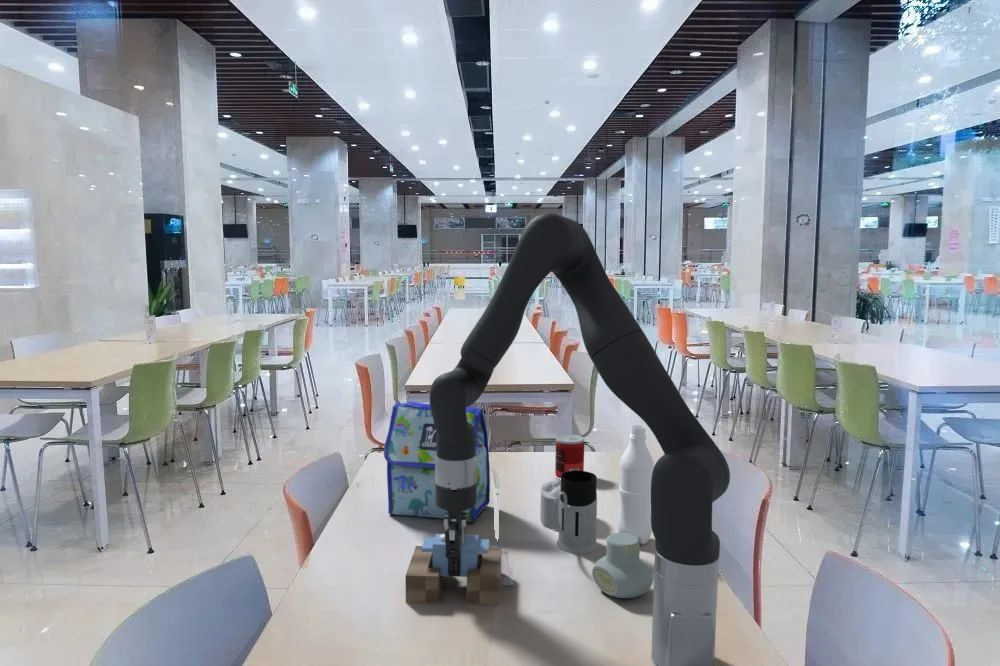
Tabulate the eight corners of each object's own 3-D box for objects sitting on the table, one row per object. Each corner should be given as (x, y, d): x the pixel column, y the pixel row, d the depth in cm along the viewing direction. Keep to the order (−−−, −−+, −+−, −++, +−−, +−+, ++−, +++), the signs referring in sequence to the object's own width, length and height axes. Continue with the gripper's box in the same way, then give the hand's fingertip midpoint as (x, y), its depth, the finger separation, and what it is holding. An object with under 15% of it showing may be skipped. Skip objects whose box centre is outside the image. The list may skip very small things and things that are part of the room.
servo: (487, 577, 121) (488, 542, 121) (421, 575, 122) (421, 540, 121) (489, 565, 126) (489, 532, 125) (425, 564, 126) (425, 530, 126)
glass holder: (605, 542, 144) (606, 474, 142) (573, 567, 132) (575, 494, 130) (568, 532, 149) (570, 466, 147) (535, 556, 137) (536, 485, 135)
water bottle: (651, 549, 141) (656, 432, 138) (617, 545, 142) (620, 430, 139) (651, 535, 148) (655, 423, 145) (618, 532, 149) (621, 421, 146)
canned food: (588, 475, 187) (589, 436, 186) (575, 483, 181) (576, 443, 179) (563, 470, 191) (564, 432, 190) (550, 478, 185) (550, 439, 183)
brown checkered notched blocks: (499, 604, 118) (499, 577, 117) (405, 602, 118) (405, 575, 118) (501, 572, 130) (501, 547, 129) (416, 570, 130) (416, 545, 130)
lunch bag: (381, 520, 155) (379, 409, 152) (407, 495, 171) (406, 394, 168) (473, 530, 149) (474, 415, 146) (492, 503, 165) (493, 399, 162)
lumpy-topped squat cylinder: (541, 529, 150) (542, 492, 149) (538, 507, 163) (539, 473, 162) (588, 530, 150) (589, 492, 149) (581, 508, 163) (582, 473, 162)
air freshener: (659, 598, 121) (661, 545, 119) (623, 610, 117) (625, 555, 115) (620, 573, 130) (621, 523, 129) (585, 583, 126) (586, 532, 125)
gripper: (440, 466, 129) (439, 551, 131) (430, 492, 115) (430, 587, 117) (479, 467, 129) (478, 552, 131) (473, 493, 115) (473, 589, 117)
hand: (455, 568), depth 124 cm, fingers closed on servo, 4 cm apart
